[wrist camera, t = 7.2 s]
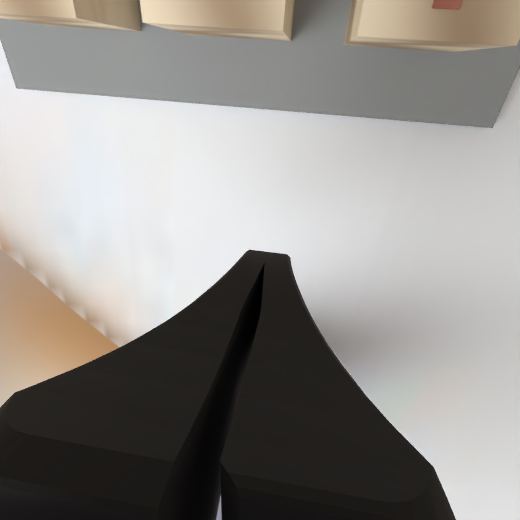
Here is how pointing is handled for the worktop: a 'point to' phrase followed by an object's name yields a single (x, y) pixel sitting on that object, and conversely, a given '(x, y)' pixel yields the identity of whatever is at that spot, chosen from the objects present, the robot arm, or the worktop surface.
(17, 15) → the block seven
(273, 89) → the slate mat
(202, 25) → the plain block
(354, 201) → the worktop surface
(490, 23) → the block one
